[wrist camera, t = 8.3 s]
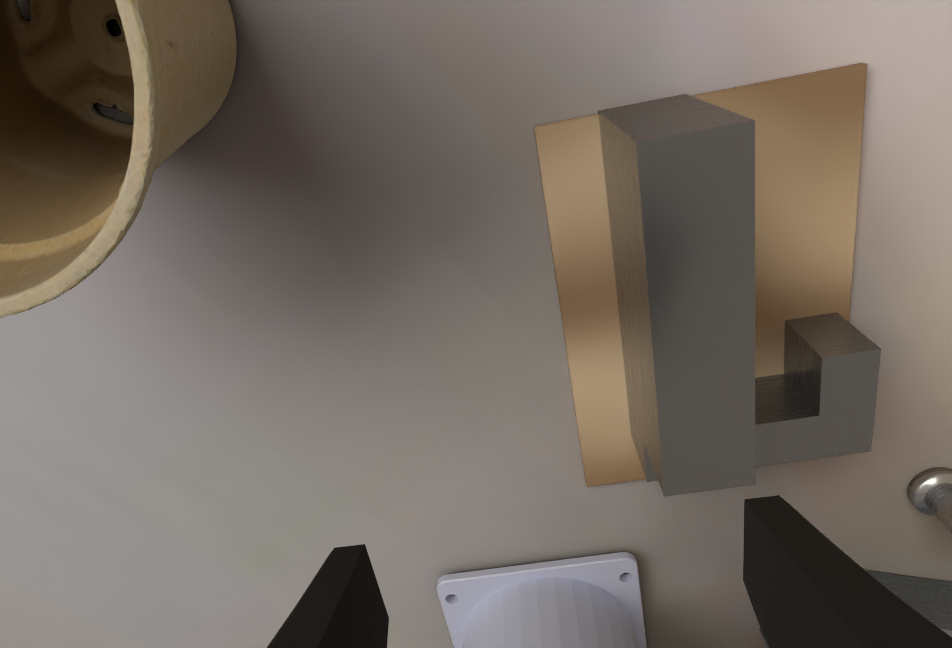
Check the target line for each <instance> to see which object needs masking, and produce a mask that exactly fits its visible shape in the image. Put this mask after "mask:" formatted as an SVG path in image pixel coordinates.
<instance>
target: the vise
mask: <svg viewBox="0 0 952 648" xmlns="http://www.w3.org/2000/svg"><path fill="white" fill-rule="evenodd" d="M907 495H908V498H909V499H910V501H911V502H912V503H913V504H914V505H915V506H916V507H917V508H918V510H919V511H921V512H922V513H924V514H928V515H935V516H936V517H937V518H938V519H939V520H940V521H941V522H942V523H943V524H944V526H945V527H946V528H947V529H948V530H949V531H950V532H951V533H952V470H950V469H947V468H932V469H929V470H926V471H924V472H922V473H920V474H918V475H917V476H916V477H915V478H914V479H913V480H912V481H911V482H910V484H909V486H908V489H907ZM865 571H867V570H865ZM867 572H868V573H869V574H870V575H871V576H873V577H874V578H875V579H876V580H878V581H879V582H880V583H881V584H883V585H884V586H885V587H886V588H887V589H889V590H890V591H891V592H892V593H894V594H895V595H896V596H898V597H899V598H900V599H901V600H903V601H904V602H905V603H906V604H908V605H909V606H910V607H912V608H913V609H914V610H916V611H917V612H918V613H920V614H921V615H922V616H924V617H925V618H926V619H928V620H929V621H930V622H932V623H933V624H934V625H936V626H937V627H938V628H940V629H941V630H943V631H944V632H945V633H947V634H948V635H949V636H951V637H952V582H948V581H941V580H933V579H926V578H918V577H911V576H904V575H896V574H889V573H881V572H874V571H867ZM759 630H760V632H761V634H762V636H763V639H764V641H765V643H766V645H767V648H769V646H768V643H767V641H766V639H765V637H764V635H763V633H762V630H761V627H760V629H759Z"/></svg>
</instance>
